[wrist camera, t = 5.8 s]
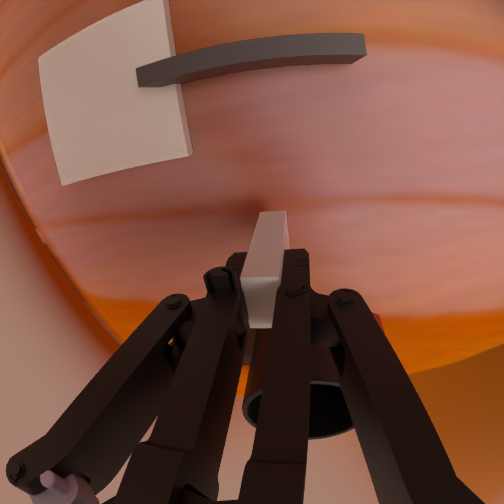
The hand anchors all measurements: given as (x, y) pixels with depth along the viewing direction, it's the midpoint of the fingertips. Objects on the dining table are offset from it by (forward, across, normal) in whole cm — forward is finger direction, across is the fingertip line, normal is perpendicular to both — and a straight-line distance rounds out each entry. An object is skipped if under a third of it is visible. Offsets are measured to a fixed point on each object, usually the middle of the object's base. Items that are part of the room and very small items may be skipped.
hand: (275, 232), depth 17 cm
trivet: (+3, -11, +11) cm, 16 cm away
